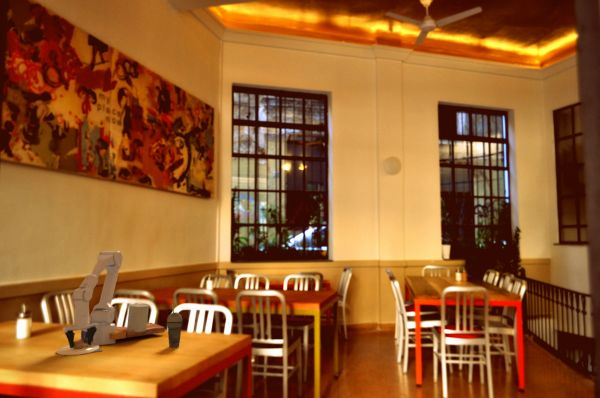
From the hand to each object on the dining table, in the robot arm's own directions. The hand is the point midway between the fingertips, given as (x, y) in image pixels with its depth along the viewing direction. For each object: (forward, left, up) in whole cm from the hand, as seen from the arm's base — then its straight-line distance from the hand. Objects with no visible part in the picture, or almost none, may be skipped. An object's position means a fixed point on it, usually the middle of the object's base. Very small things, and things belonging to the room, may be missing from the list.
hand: (80, 346), depth 202 cm
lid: (+1, +1, -1) cm, 2 cm away
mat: (0, 0, -2) cm, 2 cm away
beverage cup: (-37, +16, -3) cm, 40 cm away
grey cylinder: (-28, -12, +1) cm, 31 cm away
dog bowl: (-12, -22, -2) cm, 25 cm away
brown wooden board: (-27, -15, -1) cm, 31 cm away
